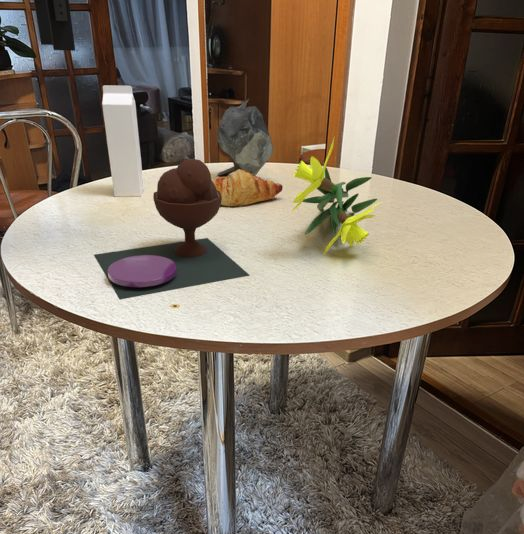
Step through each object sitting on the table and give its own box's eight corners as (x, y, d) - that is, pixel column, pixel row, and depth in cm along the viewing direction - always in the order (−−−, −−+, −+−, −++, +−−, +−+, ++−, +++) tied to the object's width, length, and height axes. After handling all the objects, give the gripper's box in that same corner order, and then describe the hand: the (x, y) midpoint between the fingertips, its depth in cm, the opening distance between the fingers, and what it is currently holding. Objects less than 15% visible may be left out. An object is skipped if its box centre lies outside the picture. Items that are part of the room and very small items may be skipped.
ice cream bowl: (218, 238, 91) (216, 150, 83) (225, 262, 82) (224, 165, 74) (158, 240, 90) (150, 151, 82) (158, 265, 81) (149, 167, 73)
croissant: (192, 223, 110) (192, 195, 104) (183, 190, 115) (183, 161, 108) (285, 214, 115) (291, 187, 109) (273, 183, 120) (278, 155, 113)
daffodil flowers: (391, 220, 107) (401, 228, 74) (327, 252, 111) (310, 273, 78) (356, 145, 104) (351, 118, 71) (293, 180, 108) (260, 171, 75)
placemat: (94, 257, 84) (93, 254, 84) (207, 240, 92) (207, 237, 92) (120, 303, 71) (119, 299, 70) (250, 278, 78) (250, 275, 78)
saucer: (102, 270, 79) (101, 260, 78) (165, 260, 83) (164, 251, 82) (117, 296, 71) (116, 286, 70) (186, 284, 75) (185, 274, 74)
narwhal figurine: (213, 188, 122) (210, 105, 112) (217, 173, 135) (215, 97, 125) (273, 189, 122) (275, 107, 112) (271, 174, 135) (273, 98, 125)
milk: (141, 197, 115) (130, 87, 103) (113, 196, 114) (99, 86, 102) (144, 189, 120) (133, 84, 108) (117, 189, 119) (104, 83, 108)
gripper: (76, -173, 55) (101, 53, 67) (46, -128, 74) (69, 43, 85) (0, -188, 52) (40, 52, 64) (-12, -137, 71) (20, 42, 82)
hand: (57, 47), depth 74 cm, fingers open, 13 cm apart
